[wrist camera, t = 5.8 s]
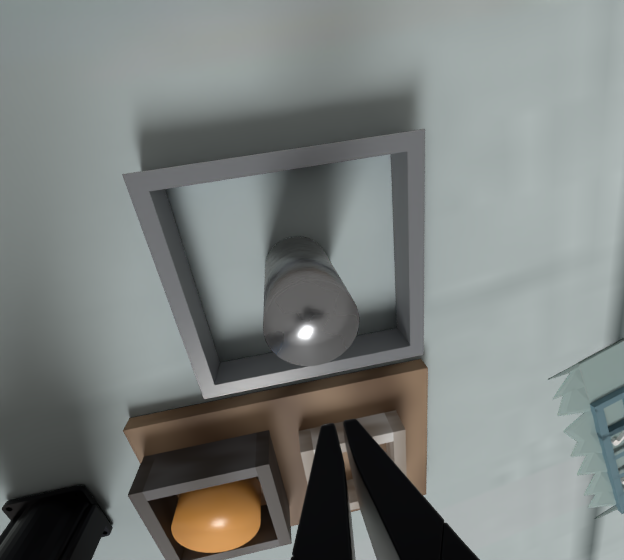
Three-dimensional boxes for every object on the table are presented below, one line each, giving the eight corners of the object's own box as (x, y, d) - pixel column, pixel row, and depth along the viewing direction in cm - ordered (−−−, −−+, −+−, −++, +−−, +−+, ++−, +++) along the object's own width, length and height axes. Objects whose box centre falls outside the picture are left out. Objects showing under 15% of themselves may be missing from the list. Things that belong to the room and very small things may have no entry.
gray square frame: (210, 375, 24) (203, 399, 21) (141, 171, 18) (122, 174, 15) (409, 336, 25) (423, 354, 22) (405, 132, 19) (424, 128, 16)
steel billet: (271, 301, 22) (273, 374, 15) (259, 242, 20) (253, 291, 13) (331, 290, 22) (362, 356, 15) (324, 231, 20) (355, 273, 13)
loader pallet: (189, 536, 30) (177, 591, 26) (129, 418, 24) (103, 468, 20) (420, 482, 32) (441, 527, 28) (420, 358, 26) (447, 394, 22)
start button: (193, 525, 27) (186, 560, 24) (169, 476, 24) (158, 509, 22) (268, 508, 27) (268, 541, 25) (252, 458, 25) (250, 489, 22)
